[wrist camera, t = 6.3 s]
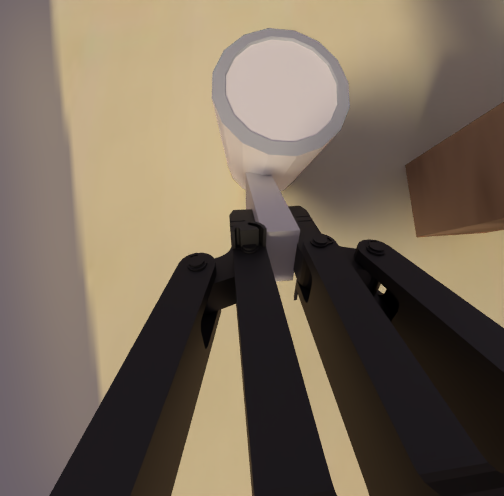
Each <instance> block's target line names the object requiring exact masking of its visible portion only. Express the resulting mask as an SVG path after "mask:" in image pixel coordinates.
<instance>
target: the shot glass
mask: <svg viewBox="0 0 504 496" xmlns="http://www.w3.org/2000/svg"><path fill="white" fill-rule="evenodd" d="M212 101H213V105H214V109H215V113H216V117H217V122H218V126H219V130H220V134H221V139H222V143H223V147H224V151H225V155H226V160H227V164H228V167H229V169H230V172H231V174H232V177H233V179H234V180H235V181H236V182H237V183H238V184H239V185H240V186H241V187H242V188H243V189H245V190H246V173H245V172H251V173H255V174H260V175H272V177H273V179H274V180H275V182H276V184H277V186H278V188H279V190H280V191H282V190H284V189H285V188H286V187H288V186H289V185H290V184H291V183H292V182H293V181H294V180H295V179H296V178H297V176H298V175H299V174H300V173H301V172H302V171H303V170H304V169H305V168H306V167H307V166H308V165H309V164H310V162H311V161H312V160H313V159H314V158H315V157H316V156H317V155H318V154H319V153H320V152H321V151H322V150H323V148H324V147H325V146H326V145H327V144H328V143H329V142H330V141H331V140H332V139H333V138H334V137H335V136H336V134H337V133H338V132H339V131H340V130H341V128H342V125H343V123H344V120H345V118H346V115H347V113H348V110H349V108H350V103H349V83H348V81H347V79H346V76H345V74H344V72H343V70H342V68H341V66H340V64H339V62H338V60H337V59H336V58H335V57H334V56H333V55H332V54H331V53H330V52H329V51H328V50H327V49H326V48H325V47H324V46H323V45H322V44H321V43H320V42H318V41H316V40H314V39H312V38H310V37H308V36H305V35H303V34H301V33H299V32H297V31H294V30H283V29H272V28H267V29H263V30H260V31H256V32H252V33H249V34H245V35H243V36H242V37H240V38H239V39H238V40H236V41H235V42H234V43H233V44H231V45H230V46H229V47H227V48H226V49H225V50H224V51H223V53H222V55H221V57H220V59H219V61H218V63H217V65H216V67H215V69H214V71H213V77H212Z"/></svg>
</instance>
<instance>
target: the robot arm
mask: <svg viewBox="0 0 504 496" xmlns="http://www.w3.org/2000/svg"><path fill="white" fill-rule="evenodd" d="M245 173H246V210H233V211H232V213H231V214H230V215H229V216H230V231H231V245H232V247H231V249H230V251H229V252H228V253H226V254H225V255H223V256H221V257H218V258H215V259H214V258H213V257H212V256H211V255H209V254H206V253H194V254H191V255H188V256H186V257H185V258H183V259H182V260H181V261H180V263H179V264H178V266H177V268H176V270H175V271H174V273H173V275H172V277H171V279H170V280H169V282H168V284H167V286H166V287H165V289H164V291H163V293H162V295H161V296H160V298H159V300H158V302H157V304H156V305H155V307H154V309H153V311H152V313H151V314H150V316H149V318H148V320H147V322H146V323H145V325H144V327H143V329H142V330H141V332H140V334H139V336H138V338H137V339H136V341H135V343H134V345H133V347H132V348H131V350H130V352H129V354H128V356H127V357H126V359H125V361H124V363H123V365H122V366H121V368H120V370H119V372H118V374H117V375H116V377H115V379H114V381H113V382H112V384H111V386H110V388H109V390H108V391H107V393H106V395H105V397H104V399H103V400H102V402H101V404H100V406H99V408H98V409H97V411H96V413H95V415H94V417H93V418H92V420H91V422H90V424H89V426H88V427H87V429H86V431H85V433H84V435H83V436H82V438H81V440H80V442H79V443H78V445H77V447H76V449H75V451H74V453H73V454H72V456H71V458H70V460H69V461H68V463H67V465H66V467H65V469H64V470H63V472H62V474H61V476H60V478H59V480H58V481H57V483H56V485H55V487H54V489H53V490H52V492H51V494H50V496H171V494H172V490H173V486H174V483H175V479H176V475H177V472H178V468H179V464H180V461H181V457H182V453H183V450H184V446H185V442H186V439H187V435H188V431H189V428H190V424H191V420H192V417H193V413H194V409H195V406H196V402H197V398H198V395H199V391H200V387H201V384H202V380H203V376H204V373H205V369H206V365H207V362H208V358H209V354H210V351H211V347H212V343H213V340H214V336H215V332H216V328H217V325H218V321H219V317H220V314H221V309H223V308H226V307H228V306H231V305H233V304H236V307H237V319H238V331H239V343H240V355H241V367H242V379H243V391H244V403H245V414H246V426H247V438H248V450H249V462H250V474H251V486H252V496H337V495H336V492H335V490H334V487H333V484H332V480H331V477H330V474H329V470H328V466H327V463H326V459H325V456H324V452H323V449H322V445H321V441H320V438H319V434H318V431H317V427H316V424H315V420H314V416H313V413H312V409H311V406H310V402H309V399H308V395H307V391H306V388H305V384H304V381H303V377H302V374H301V370H300V366H299V363H298V359H297V356H296V352H295V349H294V345H293V341H292V338H291V334H290V331H289V327H288V323H287V320H286V316H285V313H284V309H283V306H282V302H281V298H280V295H279V291H278V288H277V284H276V281H288V280H293V274H294V272H295V275H296V278H297V280H296V286H295V293H294V300H297V295H299V298H300V301H301V304H302V307H303V309H304V312H305V315H306V318H307V321H308V323H309V326H310V329H311V332H312V335H313V337H314V340H315V343H316V346H317V349H318V352H319V354H320V357H321V360H322V363H323V366H324V368H325V371H326V374H327V377H328V380H329V382H330V385H331V388H332V391H333V394H334V396H335V399H336V402H337V405H338V408H339V410H340V413H341V416H342V419H343V422H344V424H345V427H346V430H347V433H348V436H349V438H350V441H351V444H352V447H353V450H354V452H355V455H356V458H357V461H358V464H359V467H360V469H361V472H362V475H363V478H364V481H365V483H366V486H367V489H368V492H369V496H504V328H503V327H501V326H500V325H499V324H497V323H496V322H494V321H493V320H492V319H490V318H489V317H487V316H486V315H485V314H483V313H482V312H480V311H479V310H478V309H476V308H475V307H473V306H472V305H471V304H469V303H468V302H466V301H465V300H464V299H462V298H461V297H459V296H458V295H457V294H455V293H454V292H452V291H451V290H450V289H448V288H447V287H446V286H444V285H443V284H441V283H440V282H439V281H437V280H436V279H434V278H433V277H432V276H430V275H429V274H427V273H426V272H425V271H423V270H422V269H420V268H419V267H418V266H416V265H415V264H413V263H412V262H411V261H409V260H408V259H406V258H405V257H404V256H402V255H401V254H400V253H398V252H397V251H395V250H394V249H393V248H391V247H390V246H388V245H386V244H385V243H383V242H380V241H377V240H363V241H361V242H359V243H358V245H357V248H356V249H354V248H347V247H341V246H338V244H337V243H336V241H335V240H334V239H333V238H331V237H329V236H327V235H324V234H321V232H320V231H319V229H318V228H317V226H316V225H315V223H314V221H313V220H312V218H311V217H310V215H309V214H308V212H307V210H305V209H304V208H302V207H301V206H287V204H286V202H285V200H284V198H283V196H282V194H281V192H280V190H279V188H278V186H277V184H276V182H275V180H274V179H273V177H272V175H260V174H255V173H251V172H245ZM380 284H382V285H383V286H384V287H385V288H386V289H387V290H386V292H385V293H384V294H383V293H381V292H380V291H379V290H378V289H379V287H380Z"/></svg>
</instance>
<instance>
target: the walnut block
mask: <svg viewBox="0 0 504 496" xmlns="http://www.w3.org/2000/svg"><path fill="white" fill-rule="evenodd" d="M405 167H406V173H407V179H408V186H409V192H410V198H411V204H412V211H413V217H414V223H415V230H416V236H417V237H426V236H442V235H458V234H474V233H487V232H493V231H498V230H504V102H503V103H501V104H499V105H498V106H496V107H495V108H493V109H492V110H490V111H489V112H487V113H486V114H484V115H482V116H481V117H479V118H478V119H476V120H475V121H473V122H472V123H470V124H469V125H467V126H465V127H464V128H462V129H461V130H459V131H458V132H456V133H455V134H453V135H451V136H450V137H448V138H447V139H445V140H444V141H442V142H441V143H439V144H438V145H436V146H434V147H433V148H431V149H430V150H428V151H427V152H425V153H424V154H422V155H420V156H419V157H417V158H416V159H414V160H413V161H411V162H410V163H408V164H407V165H405Z"/></svg>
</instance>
